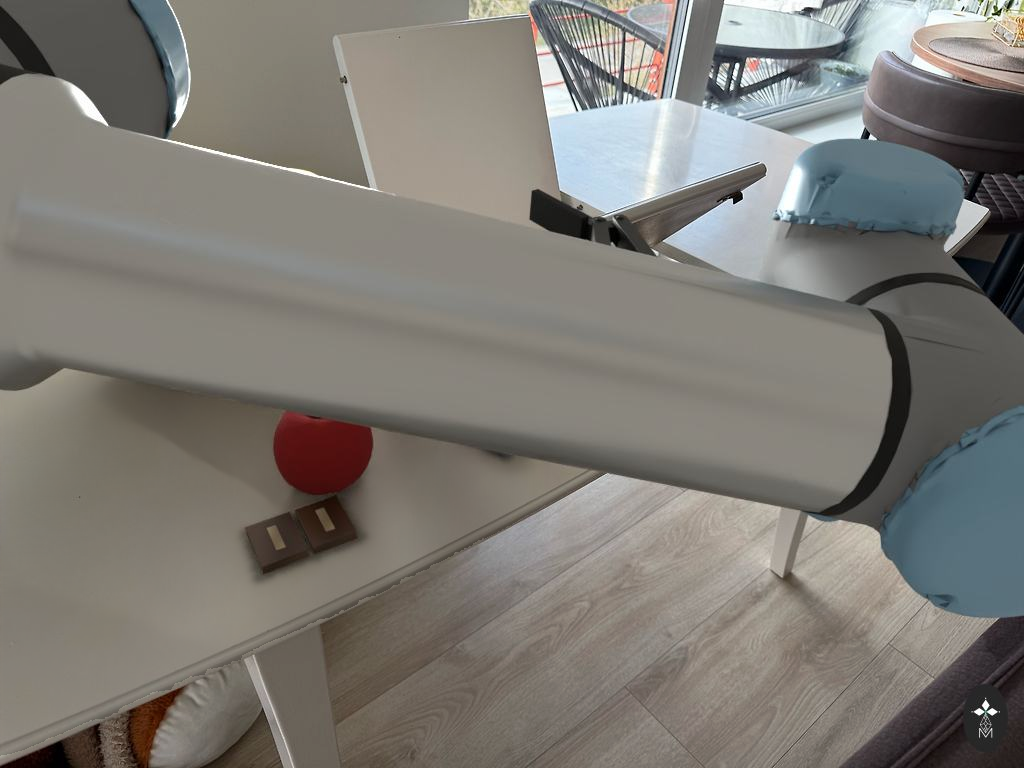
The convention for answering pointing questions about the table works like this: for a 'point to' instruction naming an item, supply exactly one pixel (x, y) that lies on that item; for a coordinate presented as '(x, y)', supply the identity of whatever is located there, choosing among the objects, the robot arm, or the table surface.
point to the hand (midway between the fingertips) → (470, 221)
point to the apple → (320, 453)
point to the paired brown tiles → (282, 538)
